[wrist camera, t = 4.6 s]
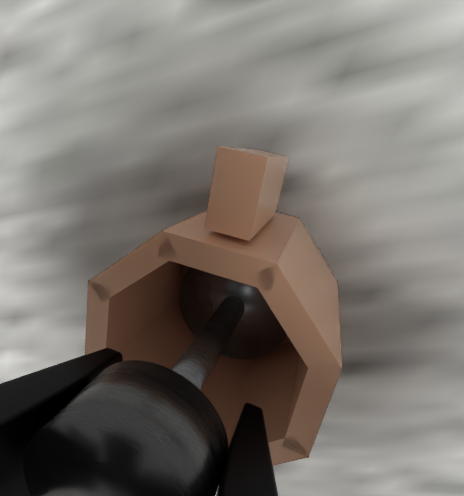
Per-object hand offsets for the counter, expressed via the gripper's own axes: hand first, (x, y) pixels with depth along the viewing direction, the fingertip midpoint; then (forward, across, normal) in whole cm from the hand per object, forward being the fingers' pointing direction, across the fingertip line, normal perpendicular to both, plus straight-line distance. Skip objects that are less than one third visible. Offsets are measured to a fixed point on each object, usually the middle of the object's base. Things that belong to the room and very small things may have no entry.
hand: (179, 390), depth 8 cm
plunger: (+5, 0, 0) cm, 5 cm away
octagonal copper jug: (+6, 0, -1) cm, 7 cm away
